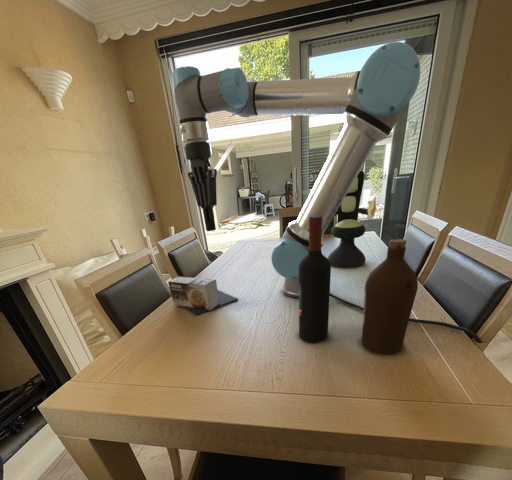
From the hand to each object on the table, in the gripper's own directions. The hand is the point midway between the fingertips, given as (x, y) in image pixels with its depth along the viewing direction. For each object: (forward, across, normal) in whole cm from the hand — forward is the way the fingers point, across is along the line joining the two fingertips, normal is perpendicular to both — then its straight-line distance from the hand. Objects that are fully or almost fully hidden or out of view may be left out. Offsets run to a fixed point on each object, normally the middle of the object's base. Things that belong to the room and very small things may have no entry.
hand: (211, 230), depth 94 cm
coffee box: (+19, +4, -6) cm, 21 cm away
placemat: (+24, -3, -4) cm, 25 cm away
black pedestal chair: (+25, +8, +63) cm, 68 cm away
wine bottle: (+25, +41, +1) cm, 48 cm away
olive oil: (+25, +56, +9) cm, 62 cm away
